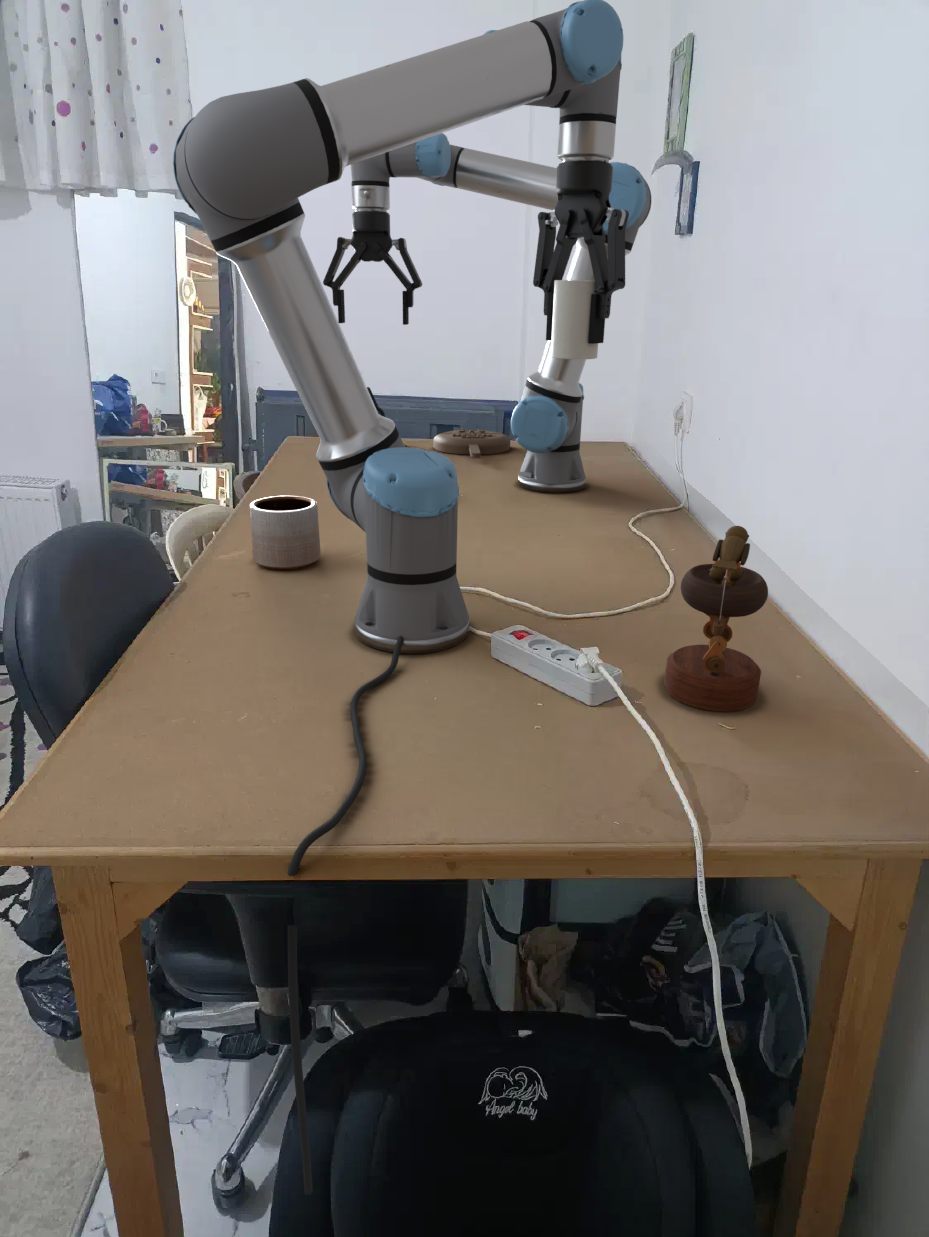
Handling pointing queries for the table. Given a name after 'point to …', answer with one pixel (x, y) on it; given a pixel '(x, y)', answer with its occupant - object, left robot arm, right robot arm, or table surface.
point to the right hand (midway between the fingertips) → (373, 324)
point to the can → (572, 320)
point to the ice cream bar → (471, 442)
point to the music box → (719, 631)
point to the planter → (285, 532)
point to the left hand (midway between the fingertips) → (574, 341)
